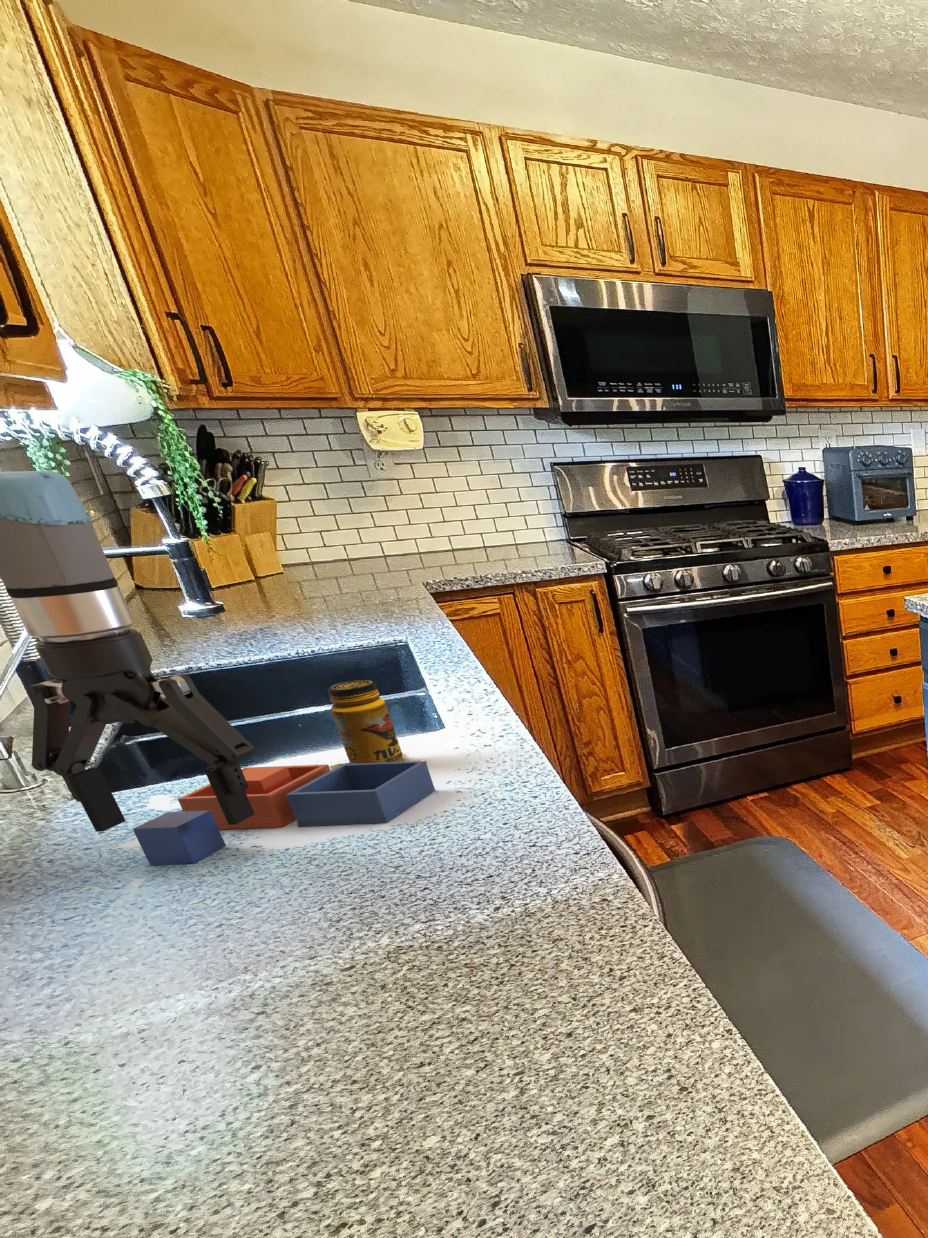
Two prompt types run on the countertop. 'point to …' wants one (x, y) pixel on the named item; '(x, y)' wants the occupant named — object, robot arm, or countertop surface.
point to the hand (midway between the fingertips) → (177, 823)
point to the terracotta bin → (256, 800)
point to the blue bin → (361, 793)
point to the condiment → (364, 723)
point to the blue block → (179, 837)
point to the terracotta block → (266, 779)
